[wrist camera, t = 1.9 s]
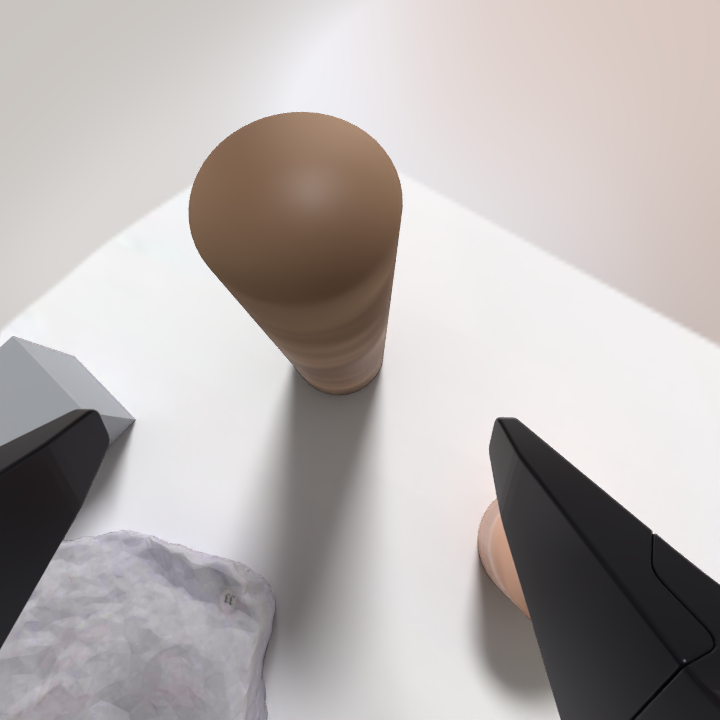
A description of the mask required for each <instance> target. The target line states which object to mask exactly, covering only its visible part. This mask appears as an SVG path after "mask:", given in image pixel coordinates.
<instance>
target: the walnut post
mask: <svg viewBox="0 0 720 720" xmlns="http://www.w3.org/2000/svg"><path fill="white" fill-rule="evenodd" d="M402 207H403V205H402V190H401V184H400V180H399V177H398V174H397V171H396V169H395V167H394V165H393V163H392V161H391V159H390V158H389V156H388V155H387V153H386V152H385V150H384V149H383V148H382V147H381V146H380V145H379V144H378V143H377V141H376V140H375V139H373V138H372V137H371V136H370V135H369V134H367V133H366V132H365V131H363V130H361V129H360V128H358V127H357V126H355V125H353V124H351V123H349V122H347V121H345V120H342V119H339V118H336V117H333V116H329V115H324V114H319V113H309V112H291V113H283V114H277V115H273V116H269V117H265V118H263V119H260V120H257V121H254V122H252V123H250V124H248V125H246V126H244V127H242V128H241V129H239V130H237V131H236V132H234V133H233V134H231V135H230V136H229V137H227V138H226V139H225V140H224V141H222V142H221V143H220V144H219V145H218V146H217V147H216V148H215V149H214V150H213V151H212V152H211V154H210V155H209V156H208V158H207V159H206V160H205V162H204V163H203V165H202V167H201V168H200V171H199V172H198V174H197V176H196V179H195V181H194V184H193V187H192V191H191V195H190V201H189V224H190V230H191V235H192V238H193V240H194V243H195V246H196V248H197V250H198V252H199V254H200V256H201V257H202V259H203V260H204V261H205V263H206V264H207V266H208V267H209V268H210V269H211V271H212V272H213V273H214V274H215V275H216V276H217V278H218V279H219V280H220V281H221V282H222V283H223V284H224V286H225V287H226V288H227V289H228V290H229V291H230V293H231V294H232V295H233V296H234V297H235V298H236V300H237V301H238V302H239V303H240V304H241V305H242V306H243V308H244V309H245V310H246V311H247V312H248V313H249V315H250V316H251V317H252V318H253V319H254V320H255V322H256V323H257V324H258V325H259V326H260V327H261V328H262V330H263V331H264V332H265V333H266V334H267V335H268V337H269V338H270V339H271V340H272V341H273V342H274V344H275V345H276V346H277V347H278V348H279V349H280V351H281V352H282V353H283V354H284V355H285V356H286V357H287V359H288V360H289V361H290V362H291V363H292V364H293V366H294V367H295V368H296V369H297V370H298V371H299V373H300V374H301V375H302V376H303V377H304V378H305V379H306V381H307V382H308V383H309V384H311V385H312V386H313V387H314V388H316V389H318V390H320V391H322V392H325V393H328V394H334V395H344V394H350V393H354V392H356V391H358V390H360V389H362V388H364V387H365V386H367V385H368V384H369V383H370V382H371V381H372V380H373V379H374V378H375V376H376V375H377V373H378V372H379V370H380V367H381V365H382V361H383V355H384V347H385V339H386V332H387V324H388V316H389V308H390V300H391V293H392V285H393V277H394V269H395V262H396V254H397V246H398V238H399V231H400V223H401V215H402Z"/></svg>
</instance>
